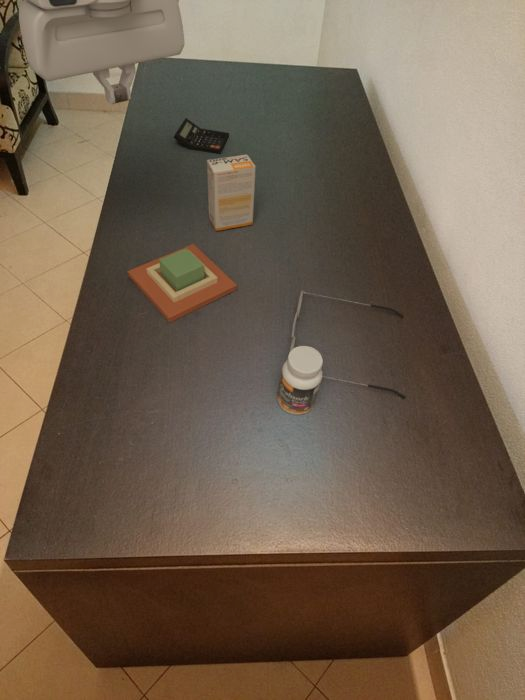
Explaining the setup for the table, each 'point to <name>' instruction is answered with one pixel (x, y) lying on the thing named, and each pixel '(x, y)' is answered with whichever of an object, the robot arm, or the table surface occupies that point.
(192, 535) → the table surface
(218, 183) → the supplement box
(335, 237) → the table surface
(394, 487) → the table surface
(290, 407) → the pill bottle
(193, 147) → the calculator
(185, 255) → the green block
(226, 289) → the base pad
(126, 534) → the table surface
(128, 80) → the robot arm
